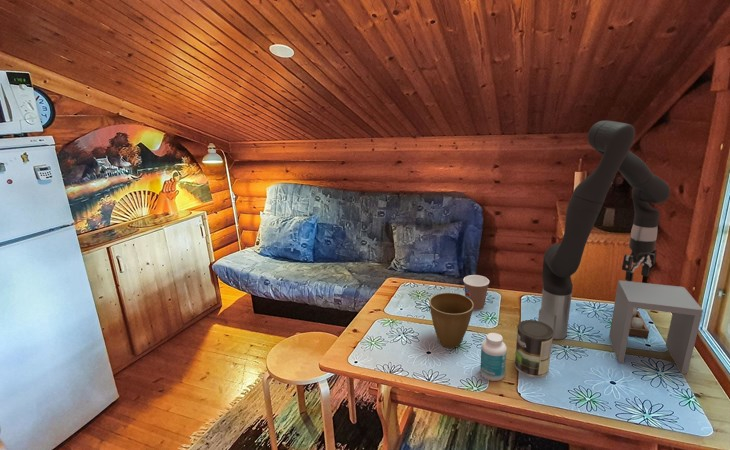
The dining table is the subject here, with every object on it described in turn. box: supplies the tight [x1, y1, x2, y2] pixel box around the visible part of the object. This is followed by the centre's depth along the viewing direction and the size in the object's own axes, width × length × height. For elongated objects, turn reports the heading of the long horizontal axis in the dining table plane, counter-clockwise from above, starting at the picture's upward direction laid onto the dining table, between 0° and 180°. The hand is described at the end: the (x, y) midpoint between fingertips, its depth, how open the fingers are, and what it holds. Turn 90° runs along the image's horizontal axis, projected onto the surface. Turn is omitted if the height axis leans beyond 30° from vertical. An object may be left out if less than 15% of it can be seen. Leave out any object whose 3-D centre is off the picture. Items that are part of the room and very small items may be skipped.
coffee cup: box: [463, 274, 490, 311], centre depth 159 cm, size 10×10×12 cm
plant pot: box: [429, 292, 474, 349], centre depth 135 cm, size 15×15×16 cm
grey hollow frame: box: [608, 279, 704, 375], centre depth 123 cm, size 15×18×22 cm
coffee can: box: [514, 319, 554, 378], centre depth 121 cm, size 10×10×14 cm
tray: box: [628, 308, 650, 340], centre depth 140 cm, size 14×6×5 cm, turn 158°
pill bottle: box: [479, 332, 508, 382], centre depth 119 cm, size 8×7×14 cm
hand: (636, 278), depth 142 cm, fingers open, 8 cm apart
